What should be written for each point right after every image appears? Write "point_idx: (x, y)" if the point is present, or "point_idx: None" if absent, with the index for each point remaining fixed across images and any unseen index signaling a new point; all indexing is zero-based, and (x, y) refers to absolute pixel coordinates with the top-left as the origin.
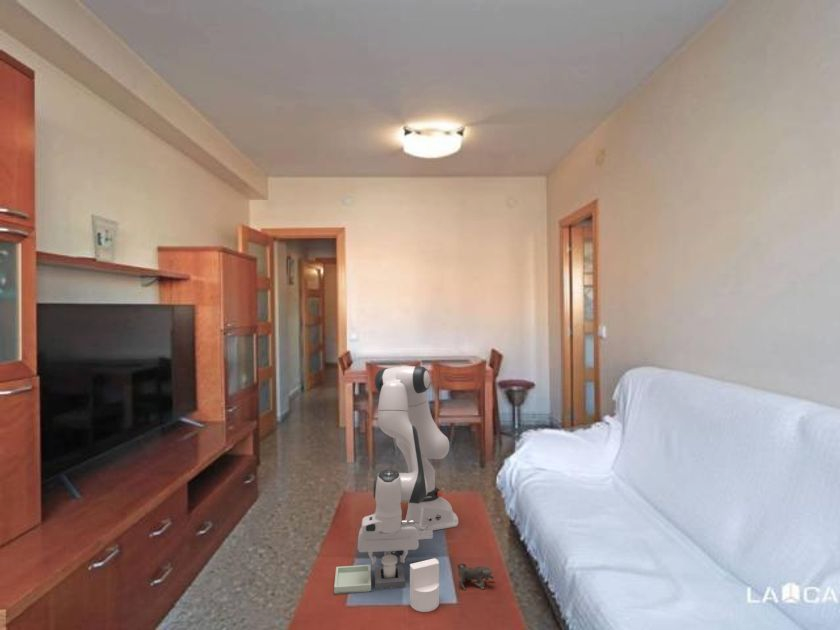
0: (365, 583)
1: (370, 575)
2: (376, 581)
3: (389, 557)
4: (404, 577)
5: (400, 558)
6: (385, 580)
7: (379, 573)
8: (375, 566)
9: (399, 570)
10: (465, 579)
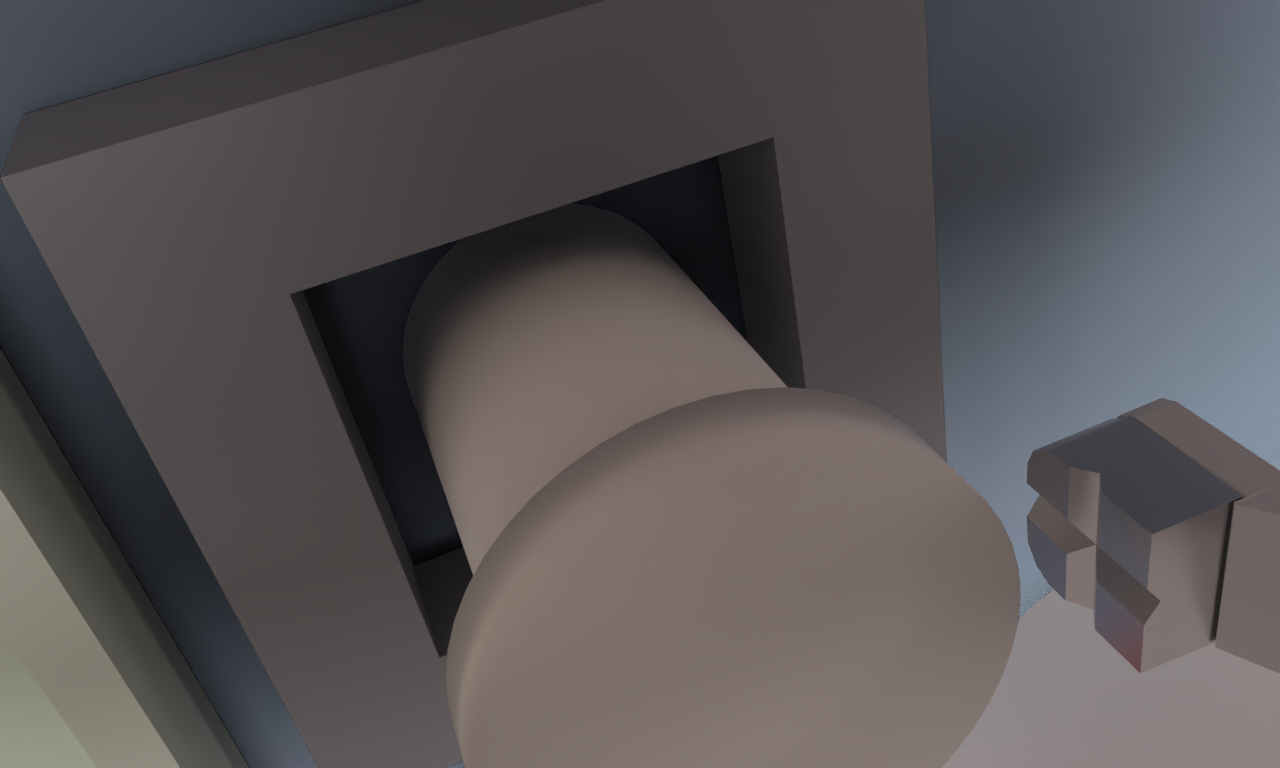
0: (29, 703)
1: (98, 659)
2: (347, 762)
3: (754, 635)
4: (943, 458)
5: (1136, 661)
6: None
7: (318, 483)
8: (34, 176)
9: (834, 226)
10: None
